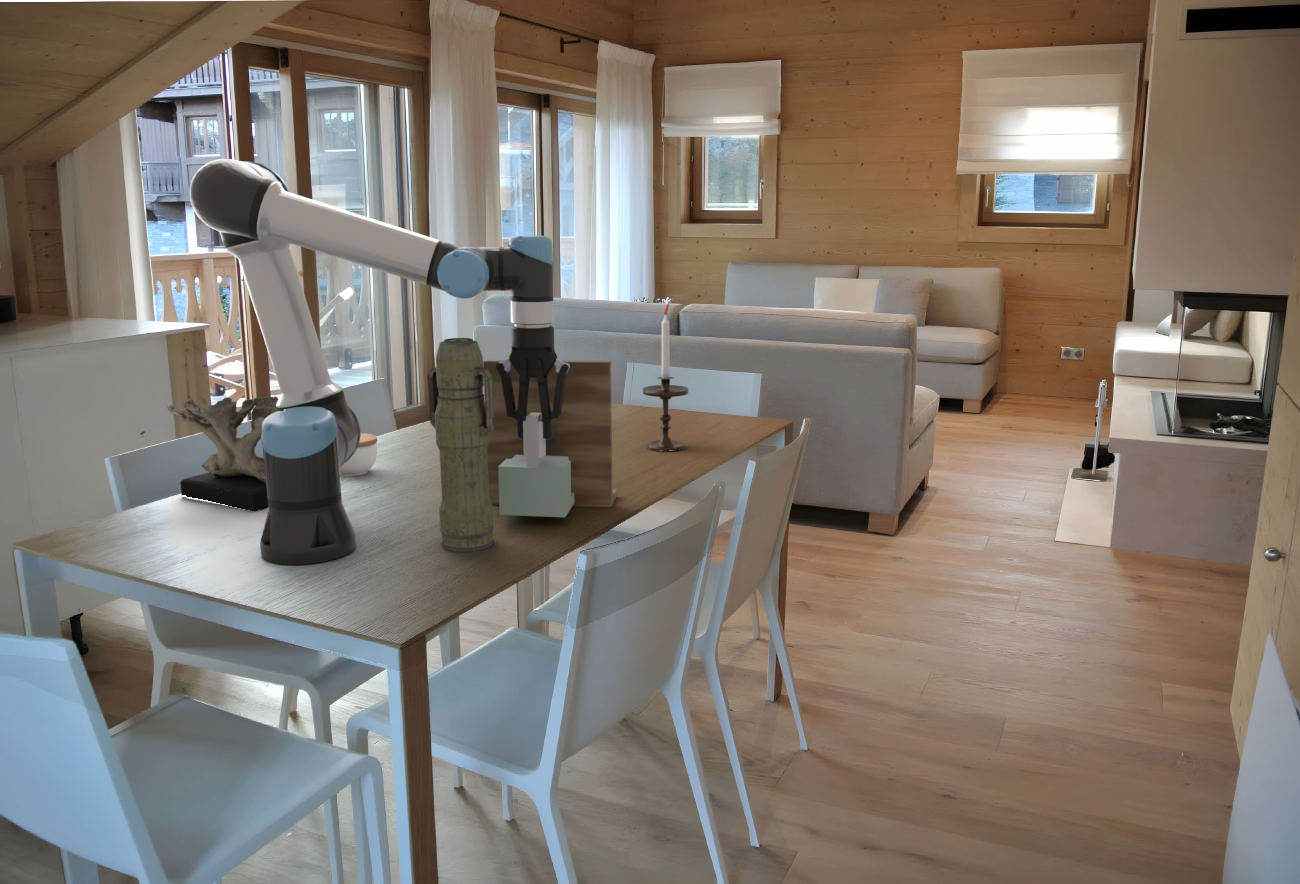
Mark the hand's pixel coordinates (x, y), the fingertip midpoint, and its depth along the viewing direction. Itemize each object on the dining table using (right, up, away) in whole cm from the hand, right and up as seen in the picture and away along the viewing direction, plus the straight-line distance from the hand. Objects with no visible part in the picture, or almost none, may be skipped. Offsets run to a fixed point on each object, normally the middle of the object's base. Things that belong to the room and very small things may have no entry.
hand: (534, 455), depth 182 cm
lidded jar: (-44, -5, +39) cm, 59 cm away
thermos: (-10, -15, -9) cm, 21 cm away
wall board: (+2, -10, +15) cm, 18 cm away
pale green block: (0, -10, +4) cm, 11 cm away
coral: (-60, -10, +17) cm, 64 cm away
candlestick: (+25, +1, +62) cm, 66 cm away
